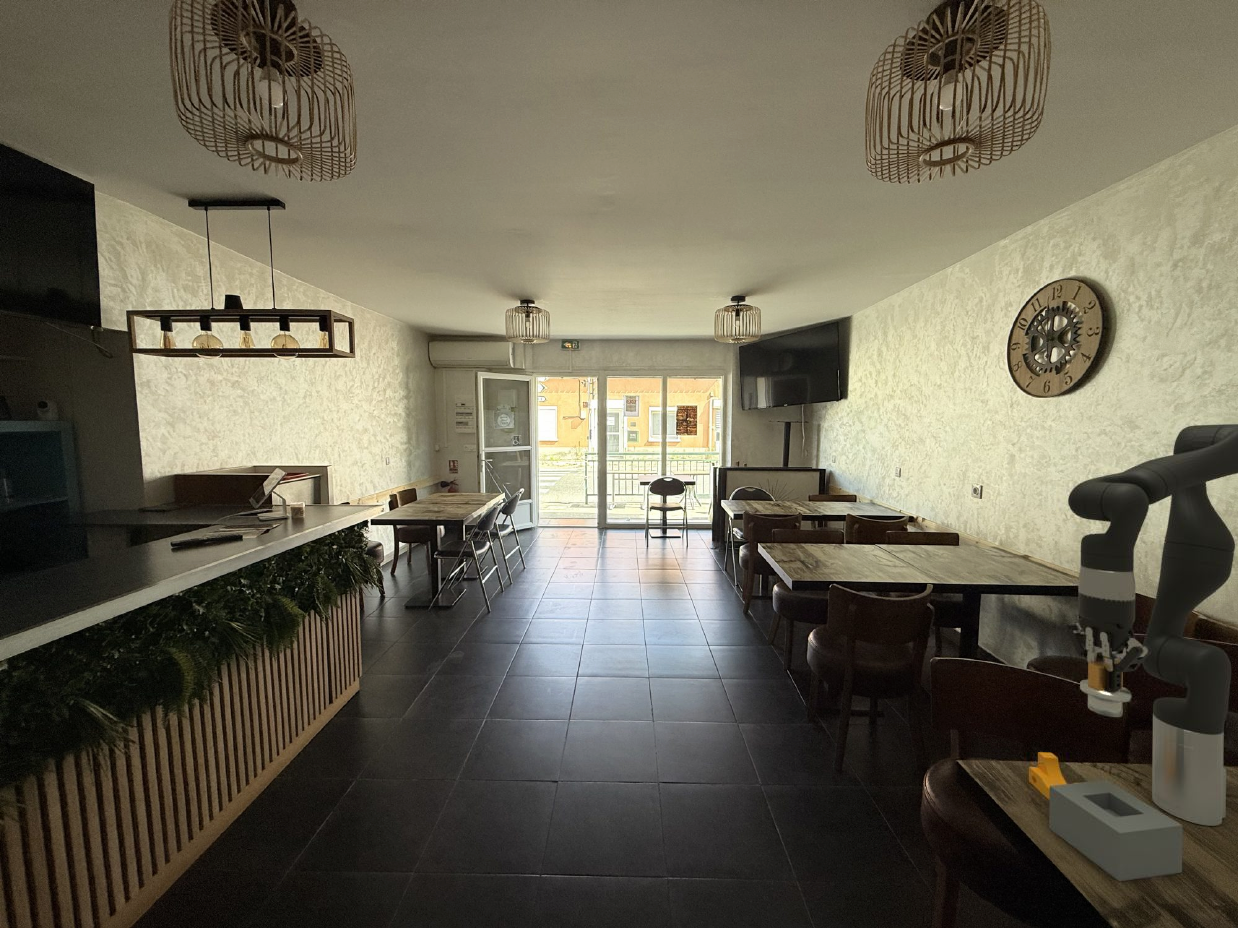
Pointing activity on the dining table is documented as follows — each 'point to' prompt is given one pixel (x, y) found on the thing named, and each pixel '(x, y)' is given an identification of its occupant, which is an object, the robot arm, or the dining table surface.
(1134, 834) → the bearing housing
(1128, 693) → the end cover
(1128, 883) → the dining table surface
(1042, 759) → the pipe clamp
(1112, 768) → the dining table surface
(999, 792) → the dining table surface
